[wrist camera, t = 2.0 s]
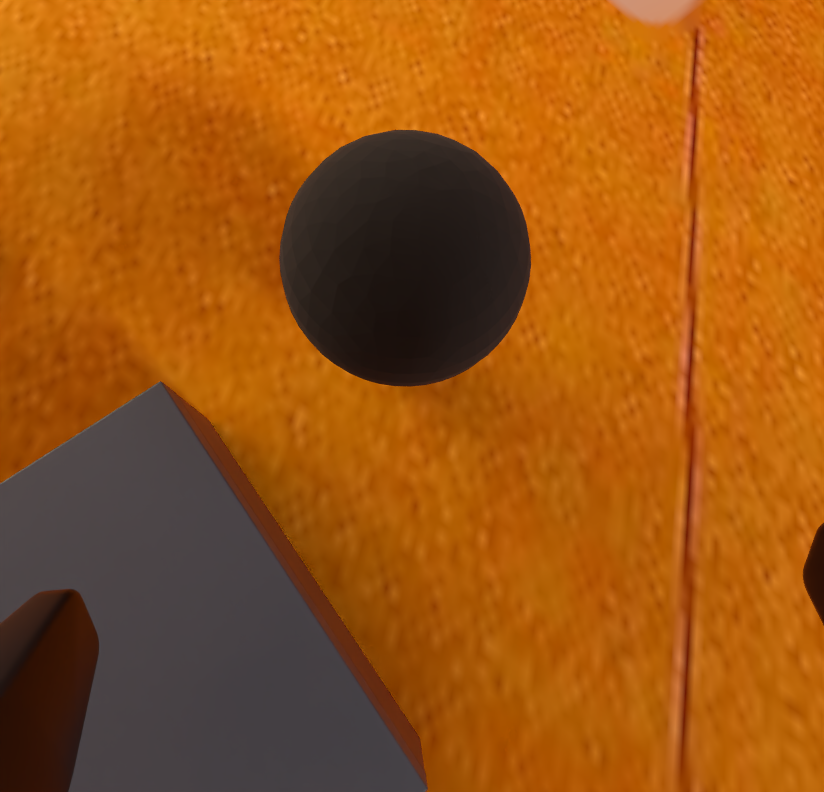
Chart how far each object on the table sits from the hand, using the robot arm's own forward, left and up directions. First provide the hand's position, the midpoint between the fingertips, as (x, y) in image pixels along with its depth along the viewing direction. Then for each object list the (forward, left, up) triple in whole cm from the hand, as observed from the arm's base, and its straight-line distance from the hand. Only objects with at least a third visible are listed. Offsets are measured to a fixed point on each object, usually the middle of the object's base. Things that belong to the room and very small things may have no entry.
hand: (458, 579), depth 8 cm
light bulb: (+6, -4, -13) cm, 15 cm away
